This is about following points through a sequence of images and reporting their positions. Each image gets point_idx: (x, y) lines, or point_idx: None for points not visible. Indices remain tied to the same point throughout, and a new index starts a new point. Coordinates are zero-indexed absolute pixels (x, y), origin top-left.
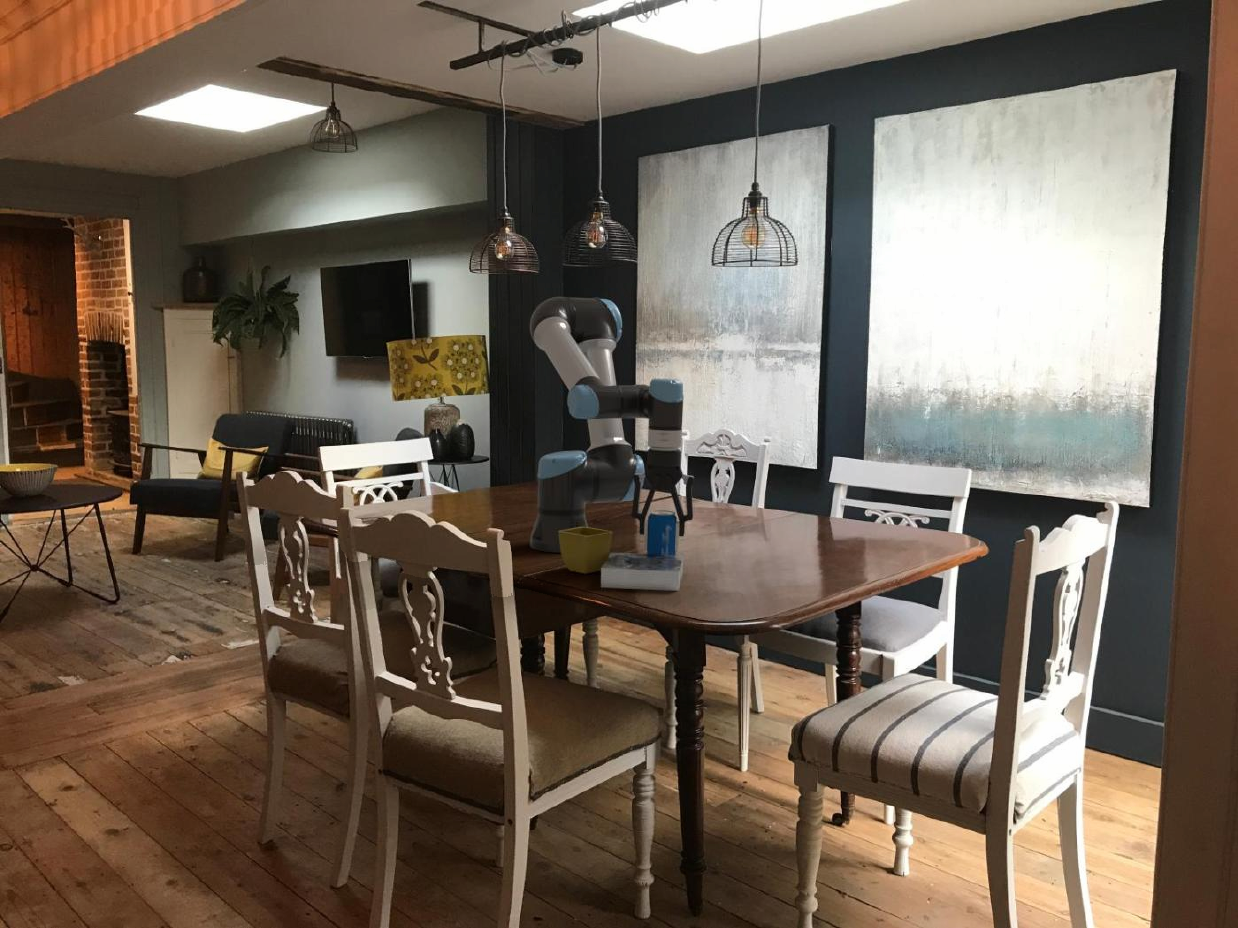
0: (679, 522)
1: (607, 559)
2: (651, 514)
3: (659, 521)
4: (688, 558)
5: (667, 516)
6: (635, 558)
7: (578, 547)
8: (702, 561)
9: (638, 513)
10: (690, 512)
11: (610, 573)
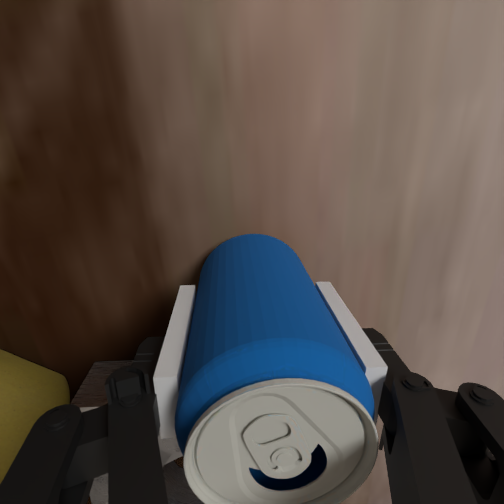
0: (379, 413)
1: (92, 493)
2: (200, 483)
3: (260, 483)
4: (356, 112)
5: (315, 496)
6: (178, 455)
7: None
8: (406, 162)
9: (95, 474)
10: (491, 487)
11: None
